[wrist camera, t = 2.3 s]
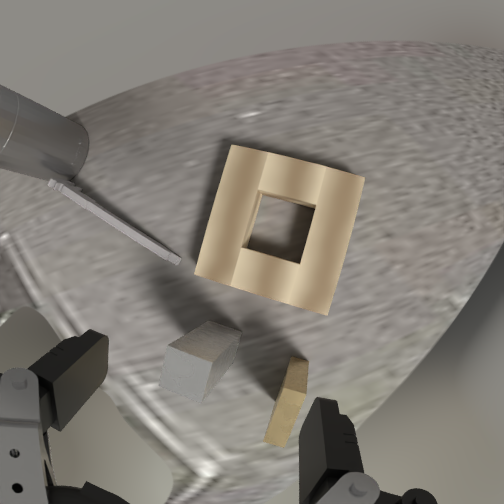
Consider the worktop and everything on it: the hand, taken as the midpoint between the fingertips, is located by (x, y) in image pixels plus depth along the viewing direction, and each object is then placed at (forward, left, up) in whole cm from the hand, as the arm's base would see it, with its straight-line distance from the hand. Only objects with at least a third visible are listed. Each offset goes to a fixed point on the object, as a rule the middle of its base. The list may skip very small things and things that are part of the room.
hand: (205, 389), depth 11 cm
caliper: (-22, +3, -25) cm, 33 cm away
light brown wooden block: (+4, -9, -24) cm, 26 cm away
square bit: (-5, -7, -24) cm, 25 cm away
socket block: (-2, +8, -24) cm, 25 cm away
